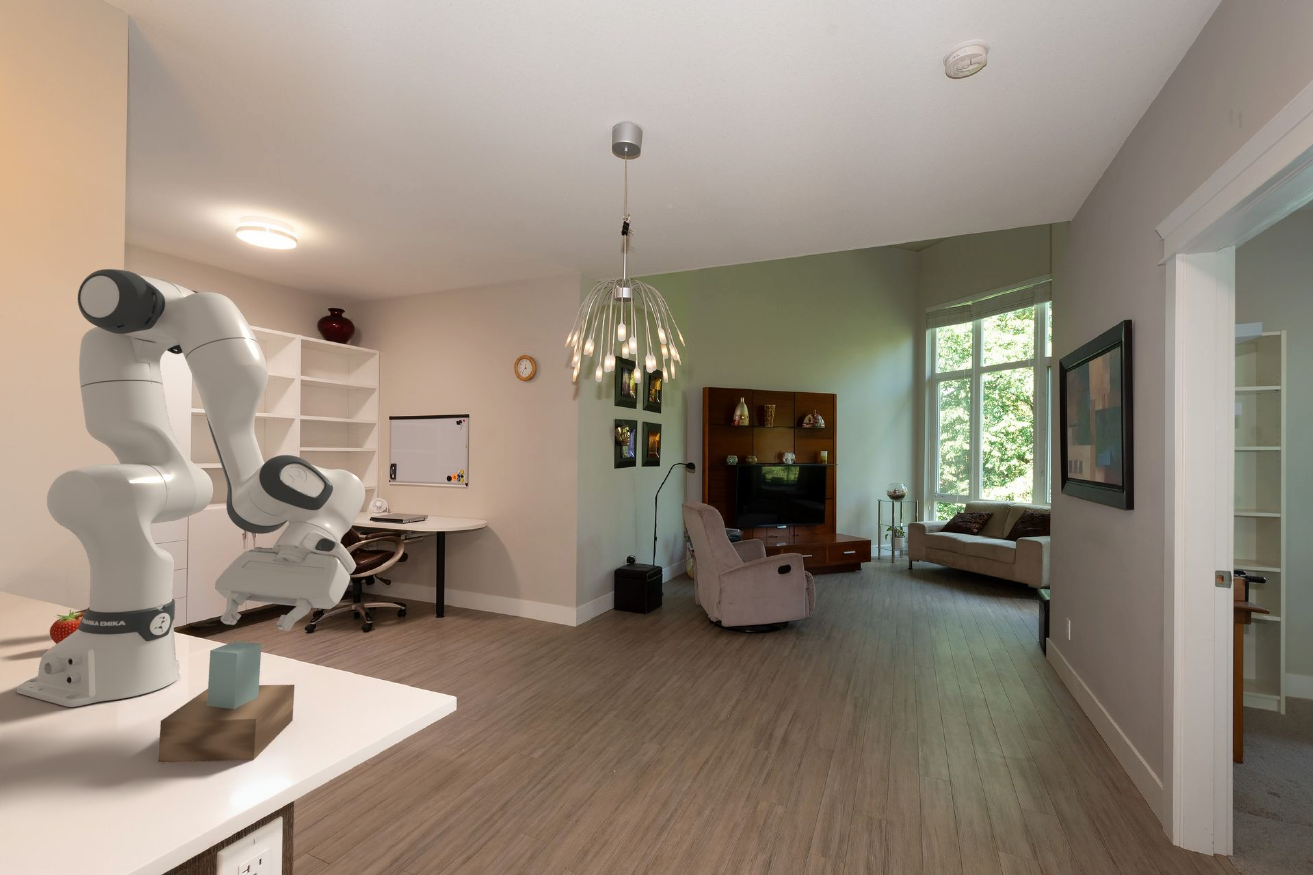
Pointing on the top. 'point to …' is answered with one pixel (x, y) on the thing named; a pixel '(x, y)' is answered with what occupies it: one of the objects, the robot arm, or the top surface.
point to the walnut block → (226, 727)
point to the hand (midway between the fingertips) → (254, 625)
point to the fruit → (64, 627)
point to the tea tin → (234, 674)
